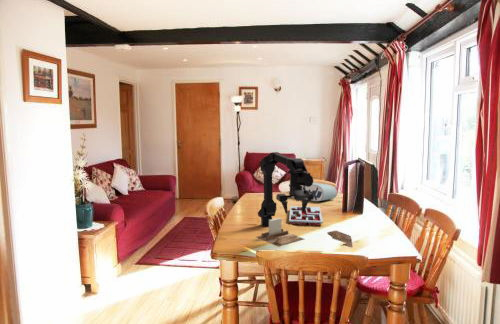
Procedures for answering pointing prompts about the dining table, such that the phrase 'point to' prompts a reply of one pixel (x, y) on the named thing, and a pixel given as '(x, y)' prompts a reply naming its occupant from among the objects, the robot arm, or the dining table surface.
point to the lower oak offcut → (287, 241)
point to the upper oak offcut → (286, 237)
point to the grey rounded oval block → (321, 191)
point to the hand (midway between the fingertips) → (294, 213)
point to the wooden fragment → (341, 237)
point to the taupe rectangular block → (274, 226)
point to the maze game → (305, 215)
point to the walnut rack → (275, 237)
